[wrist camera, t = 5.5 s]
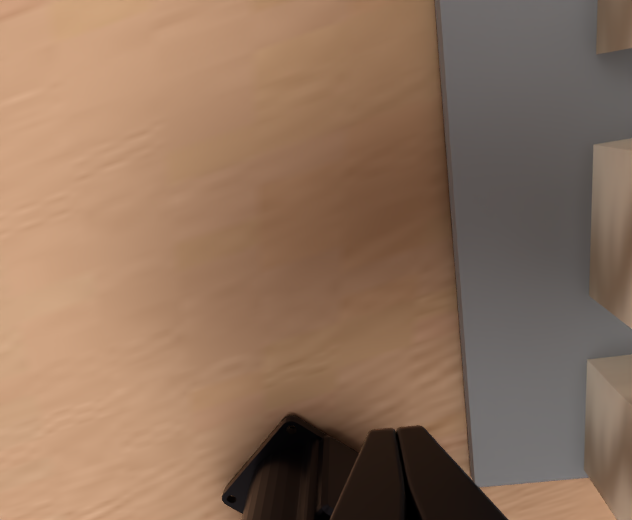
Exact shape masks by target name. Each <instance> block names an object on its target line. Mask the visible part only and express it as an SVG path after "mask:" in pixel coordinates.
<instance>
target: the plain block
mask: <svg viewBox="0 0 632 520" xmlns="http://www.w3.org/2000/svg"><path fill="white" fill-rule="evenodd" d="M589 296H590V297H591V298H593V299H594V300H595V301H596V302H598V303H599V304H600V305H602V306H603V307H604V308H605V309H607V310H608V311H609V312H611V313H612V314H613V315H614V316H616V317H617V318H618V319H620V320H621V321H622V322H623V323H625V324H626V325H627V326H629V327H630V328H631V329H632V138H630V139H624V140H618V141H612V142H606V143H600V144H594V145H593V178H592V212H591V246H590V280H589Z"/></svg>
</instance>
